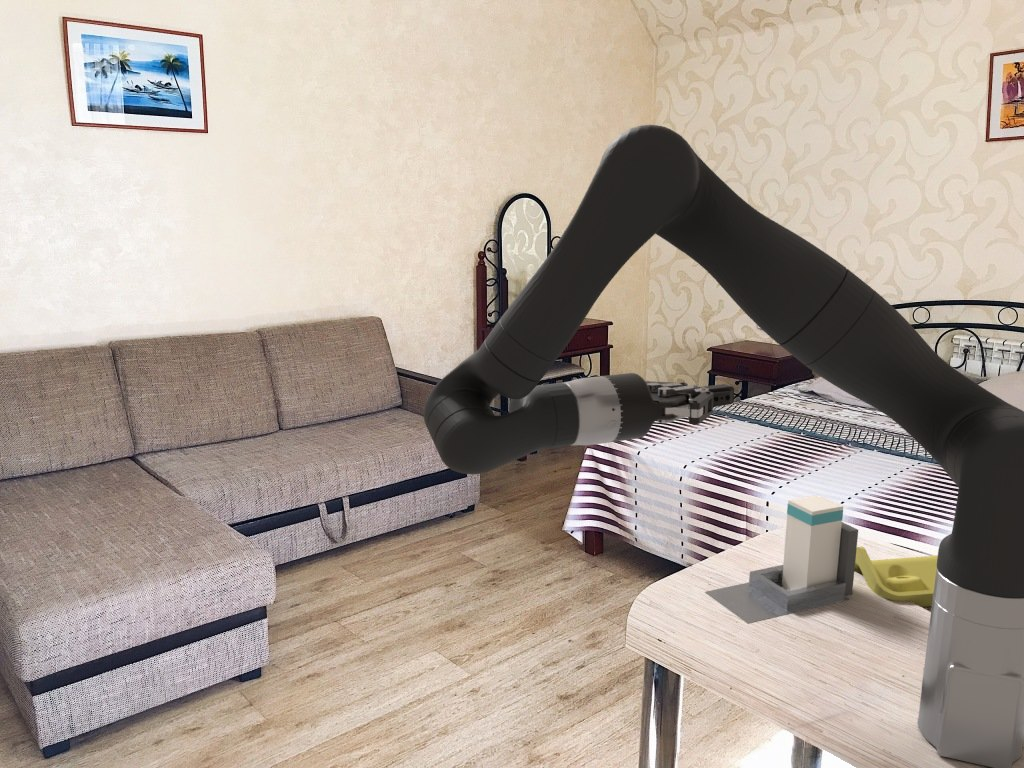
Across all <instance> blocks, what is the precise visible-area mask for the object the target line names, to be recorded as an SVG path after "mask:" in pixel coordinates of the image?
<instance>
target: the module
mask: <svg viewBox="0 0 1024 768" xmlns="http://www.w3.org/2000/svg"><path fill="white" fill-rule="evenodd" d="M787 501H788V502H787V509H786V514H787V515H786V527H785V540H784V553H783V564H782V565H783V576H782V585H783V586H785V587H787V588H788V589H790V590H796V589H801V588H805V587H810V586H814V585H819V584H823V583H828V582H832V581H836V580H837V569H838V558H839V547H840V536H841V525H842V522H843V514H844V505H842V504H840V503H837V502H835V501H832V500H830V499H828V498H826V497H825V496H822V495H819V494H817V495H810V496H804V497H799V498H793V499H788V500H787Z"/></svg>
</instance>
